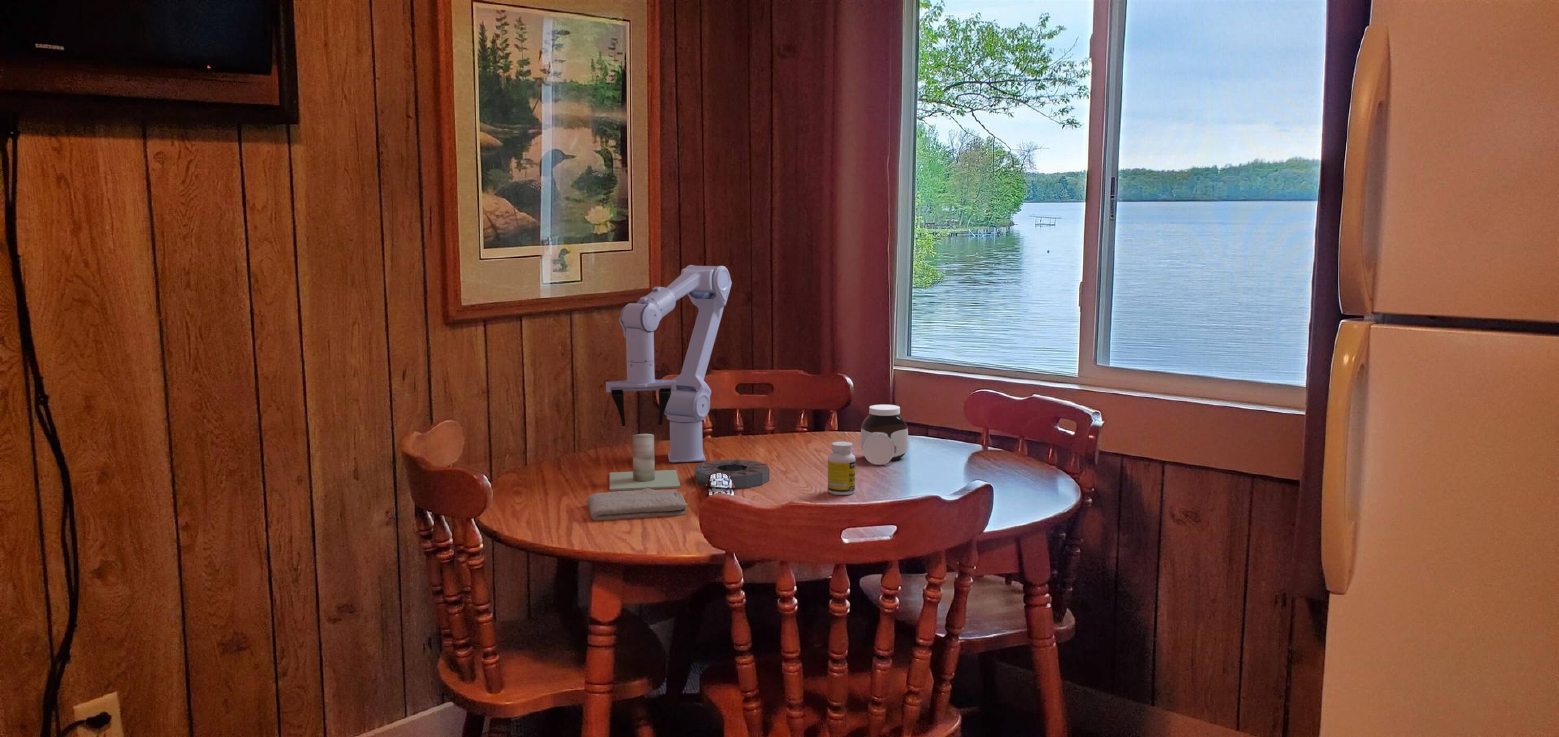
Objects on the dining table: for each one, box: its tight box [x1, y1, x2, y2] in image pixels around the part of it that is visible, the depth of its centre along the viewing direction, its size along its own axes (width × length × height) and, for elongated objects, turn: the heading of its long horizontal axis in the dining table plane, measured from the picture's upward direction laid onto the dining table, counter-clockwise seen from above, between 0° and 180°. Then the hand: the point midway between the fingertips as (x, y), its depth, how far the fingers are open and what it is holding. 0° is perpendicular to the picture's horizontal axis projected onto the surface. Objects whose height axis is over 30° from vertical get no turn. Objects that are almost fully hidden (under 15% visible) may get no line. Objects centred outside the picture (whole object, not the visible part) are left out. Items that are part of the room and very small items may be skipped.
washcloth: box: [585, 488, 689, 522], centre depth 201 cm, size 12×18×3 cm, turn 104°
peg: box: [631, 433, 656, 481], centre depth 222 cm, size 4×4×9 cm
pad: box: [609, 469, 681, 492], centre depth 223 cm, size 14×14×1 cm
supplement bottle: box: [827, 441, 856, 496], centre depth 212 cm, size 5×5×10 cm
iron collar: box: [694, 459, 770, 489], centre depth 224 cm, size 15×15×2 cm
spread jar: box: [860, 404, 909, 466], centre depth 240 cm, size 12×11×12 cm
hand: (642, 424), depth 228 cm, fingers open, 7 cm apart
